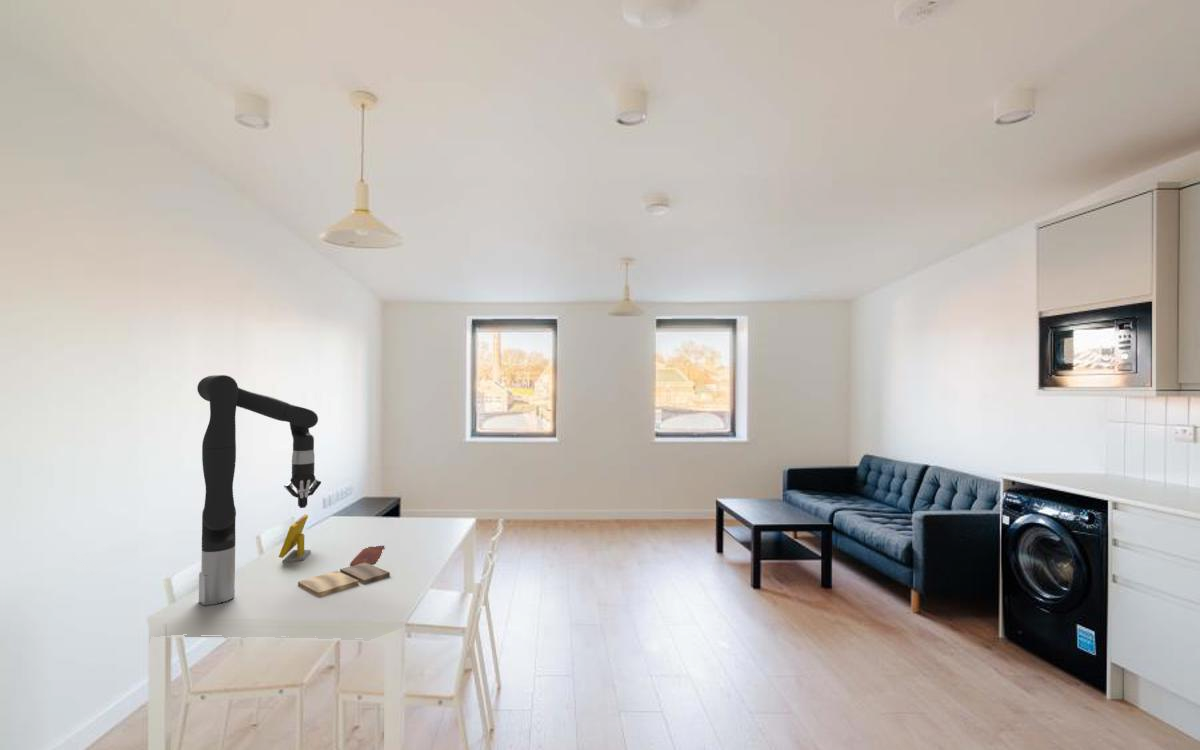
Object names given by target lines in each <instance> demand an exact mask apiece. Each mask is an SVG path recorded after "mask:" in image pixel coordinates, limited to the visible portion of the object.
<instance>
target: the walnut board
mask: <svg viewBox="0 0 1200 750" xmlns="http://www.w3.org/2000/svg"><path fill="white" fill-rule="evenodd" d="M339 572H341V573H343V574H345V575H348V576H350V577H352V578H354V579H356V580H358V583H359V584H362V585H366V584H370V583H374V582H376V581H380V580H383V579H387V578H389V577H390V576H391V575H390V571H387V570H384V569H382V568H379V567H378V566H375V565H370V564H368V563H366V562H365V563H361V564H357V565H354V566H350V565H349V566H346V567H343V568H340V569H339Z"/></svg>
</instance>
